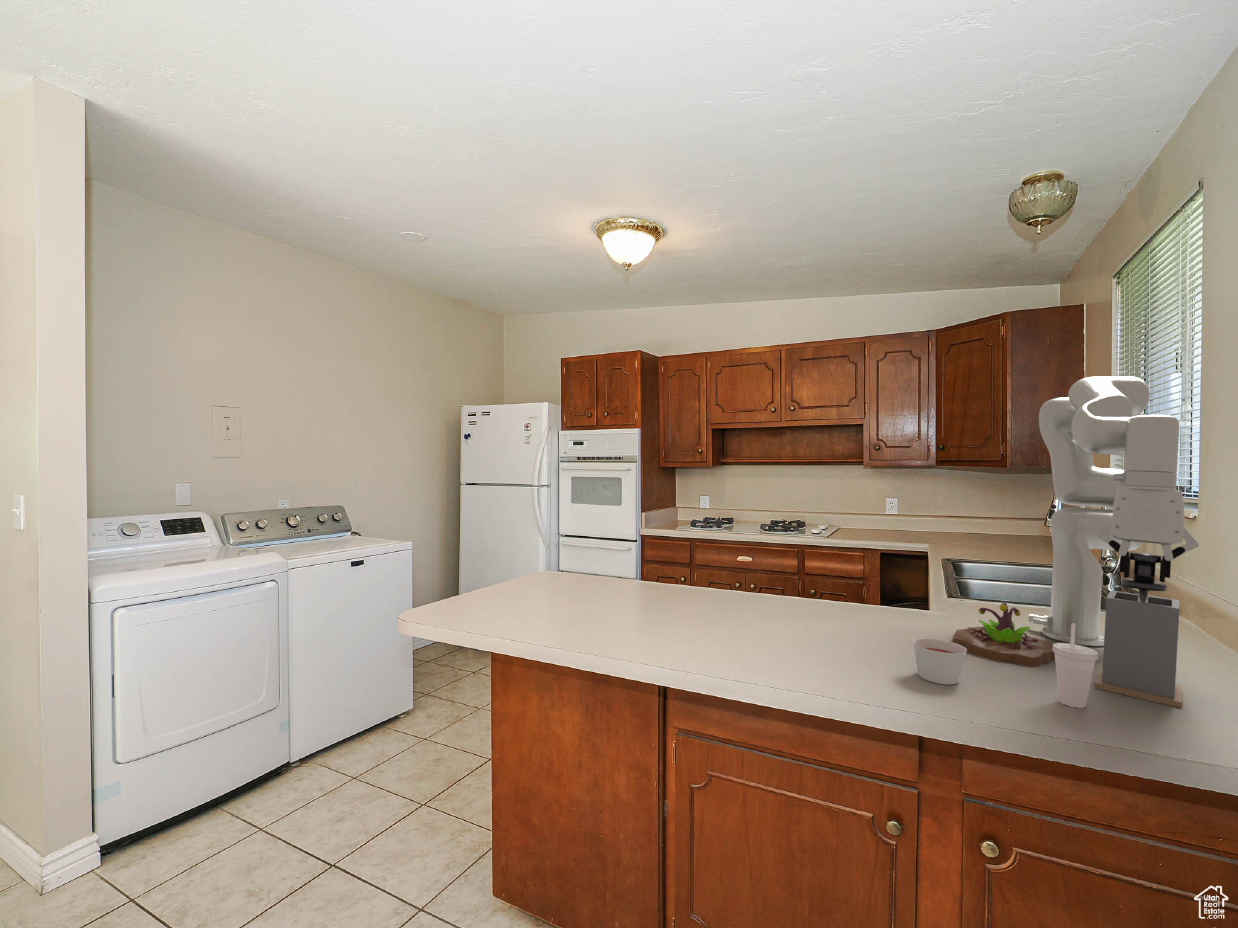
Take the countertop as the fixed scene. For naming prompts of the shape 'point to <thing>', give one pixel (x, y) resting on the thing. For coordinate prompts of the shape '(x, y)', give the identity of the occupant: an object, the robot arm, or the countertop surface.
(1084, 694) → the smoothie
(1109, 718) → the countertop surface
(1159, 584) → the plunger
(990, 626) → the plant
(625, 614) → the countertop surface
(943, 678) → the candle
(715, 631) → the countertop surface
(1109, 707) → the countertop surface
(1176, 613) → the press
